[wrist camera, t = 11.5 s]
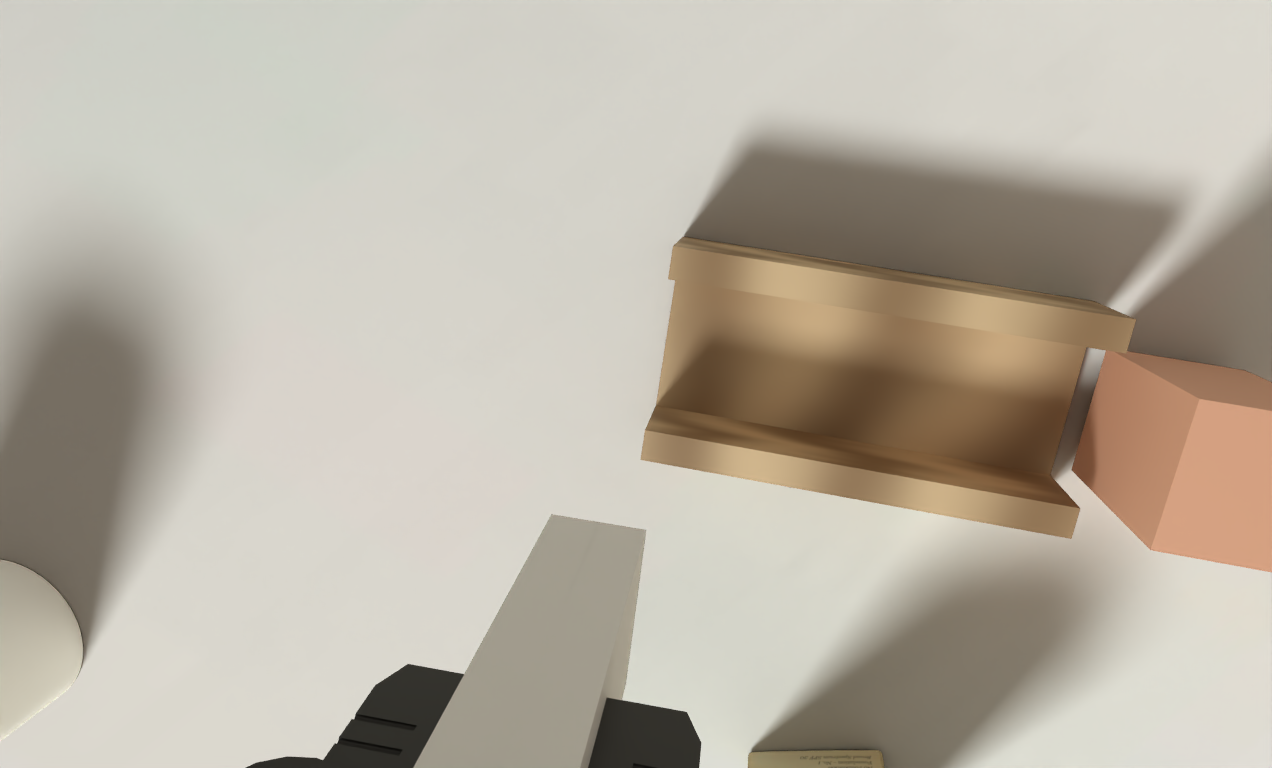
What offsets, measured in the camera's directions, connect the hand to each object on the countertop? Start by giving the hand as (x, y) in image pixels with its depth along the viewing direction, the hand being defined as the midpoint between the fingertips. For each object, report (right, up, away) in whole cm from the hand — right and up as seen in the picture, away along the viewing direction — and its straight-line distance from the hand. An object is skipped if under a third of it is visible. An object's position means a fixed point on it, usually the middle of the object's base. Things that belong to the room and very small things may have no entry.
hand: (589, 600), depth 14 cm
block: (+21, +2, +20) cm, 29 cm away
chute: (+10, +4, +22) cm, 25 cm away
